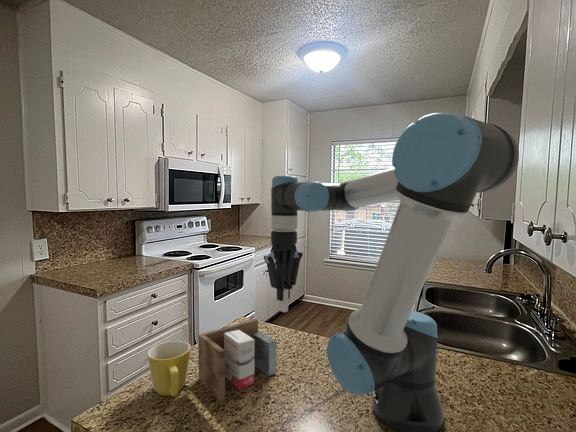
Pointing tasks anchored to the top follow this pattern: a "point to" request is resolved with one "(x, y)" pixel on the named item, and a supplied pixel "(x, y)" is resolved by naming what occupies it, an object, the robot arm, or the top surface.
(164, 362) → the mug
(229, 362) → the ink box
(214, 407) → the top surface
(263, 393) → the top surface
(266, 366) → the bookend
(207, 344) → the wooden corner frame
